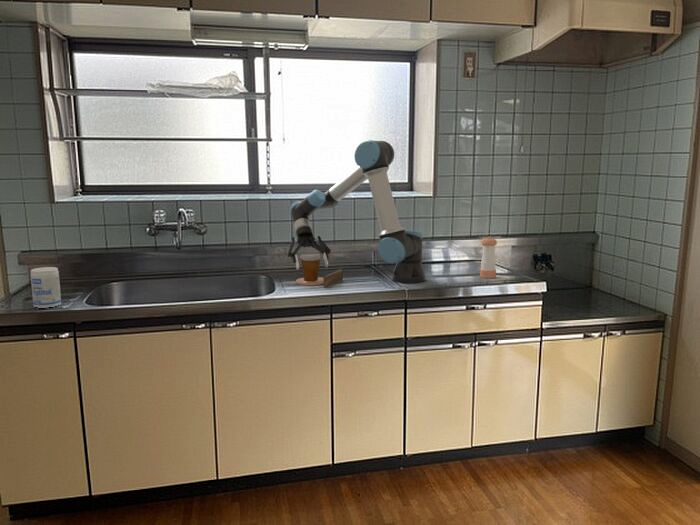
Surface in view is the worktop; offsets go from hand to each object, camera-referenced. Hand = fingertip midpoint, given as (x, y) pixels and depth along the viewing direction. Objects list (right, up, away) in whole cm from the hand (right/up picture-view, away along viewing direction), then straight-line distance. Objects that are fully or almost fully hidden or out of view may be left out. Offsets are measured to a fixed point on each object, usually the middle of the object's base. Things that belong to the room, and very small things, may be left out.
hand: (312, 267), depth 250 cm
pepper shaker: (+82, -5, +11) cm, 83 cm away
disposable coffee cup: (-1, -6, +4) cm, 7 cm away
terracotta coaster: (-1, -7, +3) cm, 7 cm away
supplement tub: (-100, -15, -36) cm, 108 cm away
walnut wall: (+9, -8, -2) cm, 12 cm away
